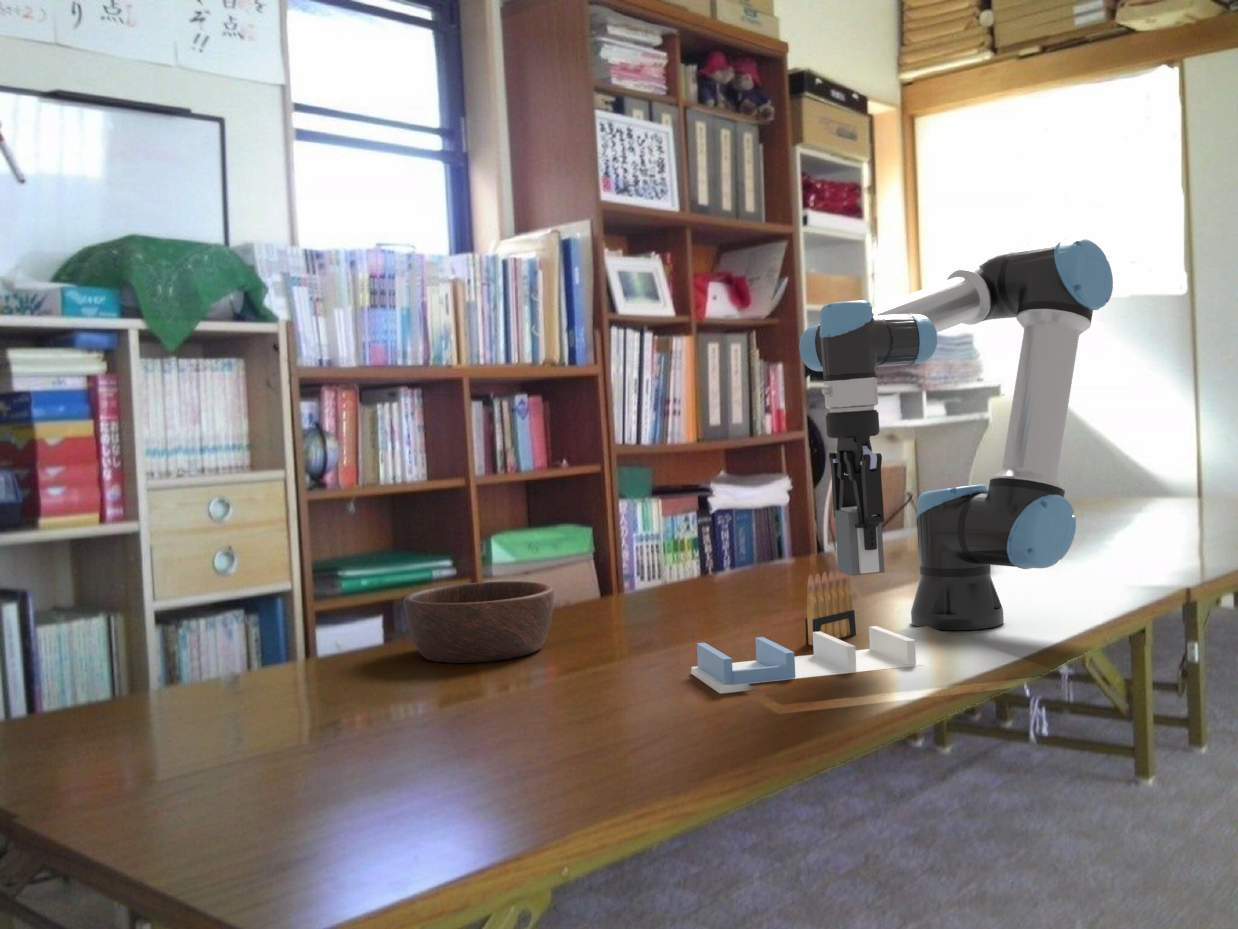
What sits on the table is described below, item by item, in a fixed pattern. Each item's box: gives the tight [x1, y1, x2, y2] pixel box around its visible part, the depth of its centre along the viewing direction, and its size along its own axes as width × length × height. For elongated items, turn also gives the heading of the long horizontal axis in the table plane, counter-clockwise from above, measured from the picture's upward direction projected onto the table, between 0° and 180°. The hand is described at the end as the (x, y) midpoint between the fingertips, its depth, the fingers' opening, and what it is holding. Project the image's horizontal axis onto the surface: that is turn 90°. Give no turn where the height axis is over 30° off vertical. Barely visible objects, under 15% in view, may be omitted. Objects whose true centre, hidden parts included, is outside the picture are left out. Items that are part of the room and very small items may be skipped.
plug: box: [834, 506, 885, 577], centre depth 181 cm, size 5×5×9 cm
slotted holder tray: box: [690, 625, 923, 694], centre depth 180 cm, size 30×14×4 cm, turn 103°
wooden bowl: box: [403, 580, 555, 664], centre depth 209 cm, size 25×25×10 cm
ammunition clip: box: [804, 568, 857, 646], centre depth 198 cm, size 11×2×12 cm, turn 132°
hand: (861, 569), depth 181 cm, fingers closed on plug, 5 cm apart
